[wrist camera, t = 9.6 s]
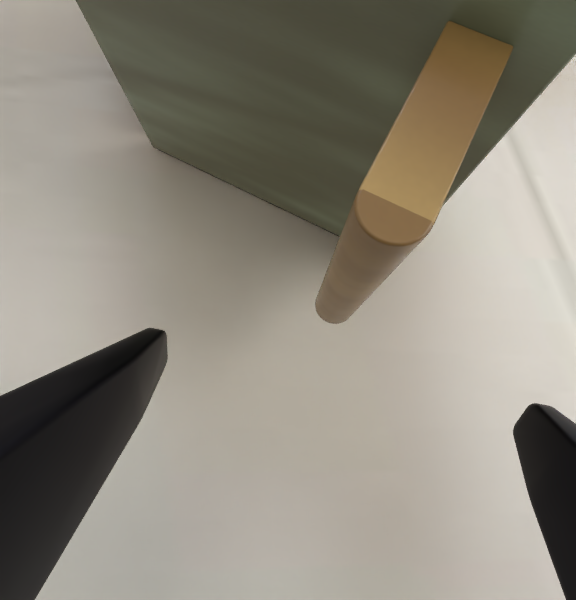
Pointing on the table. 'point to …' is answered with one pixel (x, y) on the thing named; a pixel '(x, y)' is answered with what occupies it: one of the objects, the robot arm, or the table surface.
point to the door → (336, 105)
